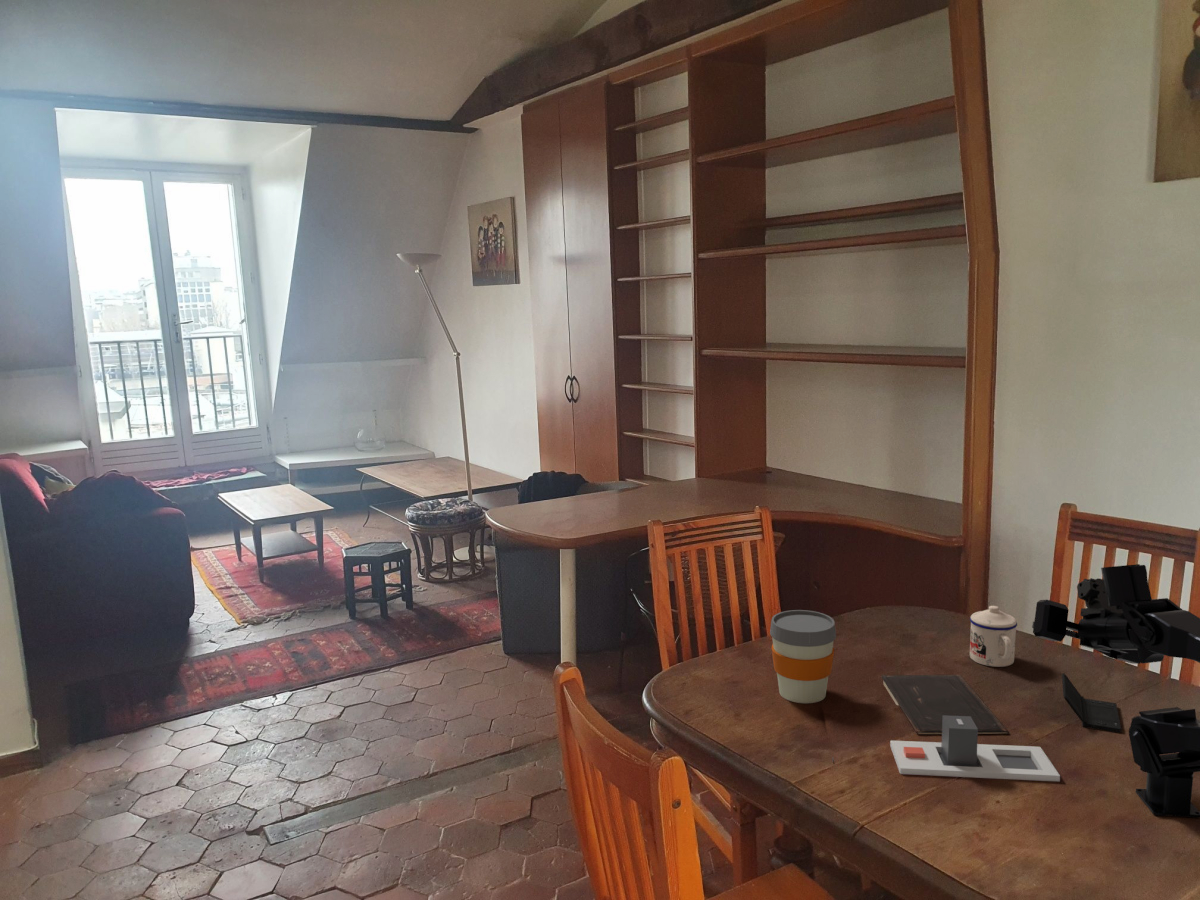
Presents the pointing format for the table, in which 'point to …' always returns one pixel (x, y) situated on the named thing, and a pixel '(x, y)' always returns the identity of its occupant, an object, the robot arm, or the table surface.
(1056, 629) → the robot arm
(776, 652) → the reusable coffee cup
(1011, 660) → the teacup with lid
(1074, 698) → the handheld gaming console
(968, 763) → the block
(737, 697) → the table surface
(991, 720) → the hardcover book
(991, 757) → the power strip
